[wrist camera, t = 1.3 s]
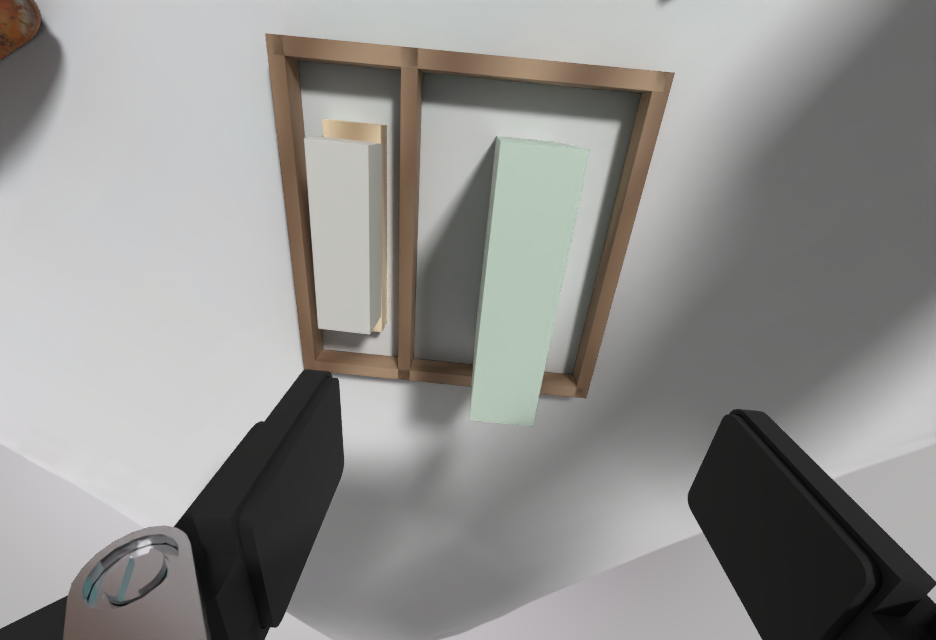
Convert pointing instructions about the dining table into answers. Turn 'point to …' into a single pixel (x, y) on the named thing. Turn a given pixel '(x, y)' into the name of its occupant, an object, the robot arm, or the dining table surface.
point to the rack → (295, 189)
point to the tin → (17, 24)
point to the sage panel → (522, 273)
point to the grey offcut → (345, 231)
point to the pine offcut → (380, 136)
